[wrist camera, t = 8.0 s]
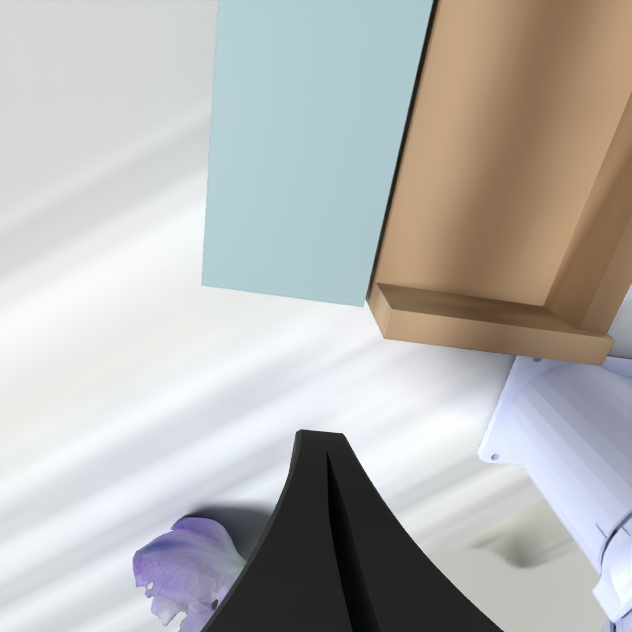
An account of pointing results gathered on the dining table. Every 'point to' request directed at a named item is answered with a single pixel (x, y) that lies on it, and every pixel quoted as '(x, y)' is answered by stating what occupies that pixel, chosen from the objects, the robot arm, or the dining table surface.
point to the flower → (188, 571)
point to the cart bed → (513, 182)
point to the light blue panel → (306, 141)
